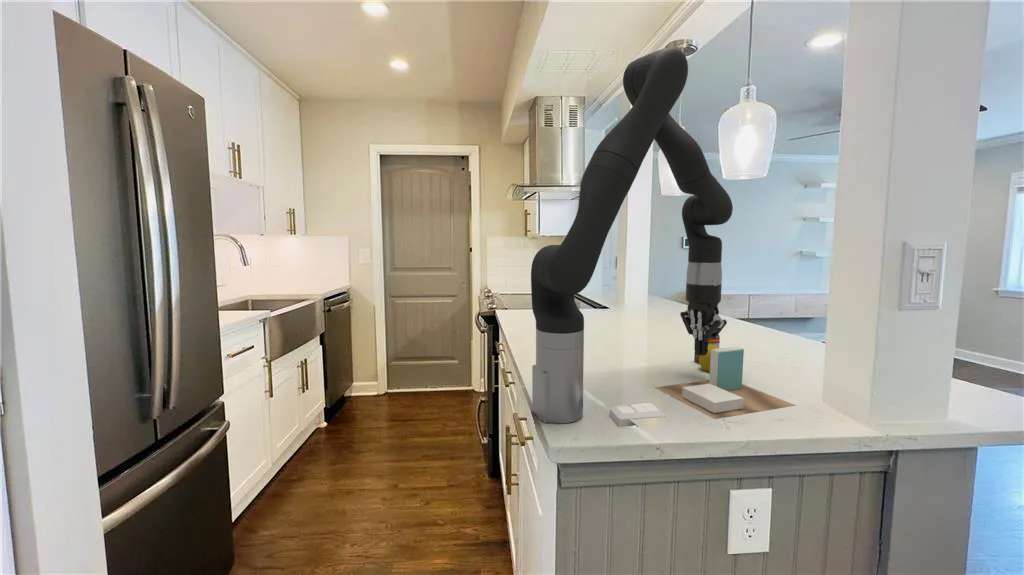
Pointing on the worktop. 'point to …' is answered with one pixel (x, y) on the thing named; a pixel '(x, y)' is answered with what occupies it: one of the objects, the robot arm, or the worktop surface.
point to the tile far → (726, 368)
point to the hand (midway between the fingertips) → (700, 354)
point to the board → (752, 397)
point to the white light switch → (633, 413)
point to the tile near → (712, 398)
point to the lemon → (706, 358)
